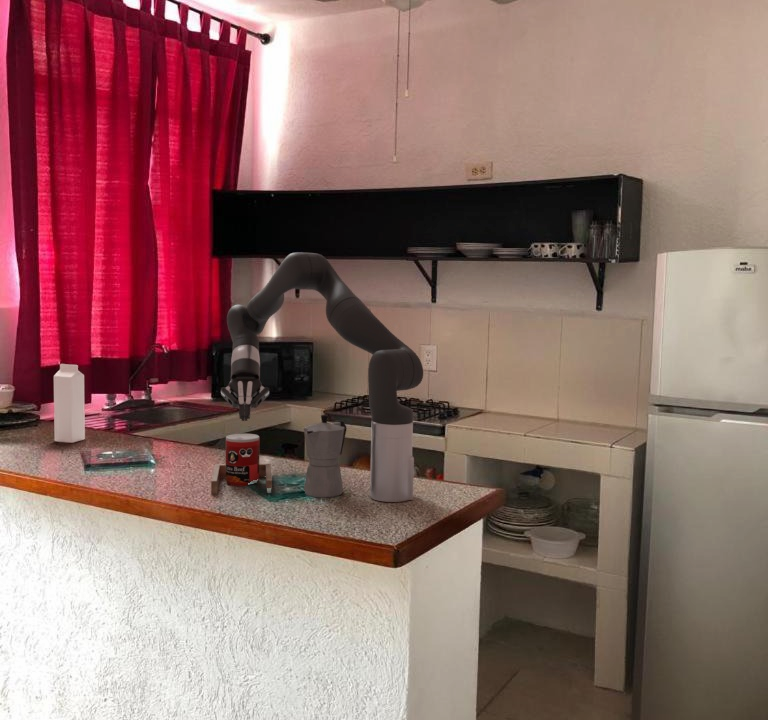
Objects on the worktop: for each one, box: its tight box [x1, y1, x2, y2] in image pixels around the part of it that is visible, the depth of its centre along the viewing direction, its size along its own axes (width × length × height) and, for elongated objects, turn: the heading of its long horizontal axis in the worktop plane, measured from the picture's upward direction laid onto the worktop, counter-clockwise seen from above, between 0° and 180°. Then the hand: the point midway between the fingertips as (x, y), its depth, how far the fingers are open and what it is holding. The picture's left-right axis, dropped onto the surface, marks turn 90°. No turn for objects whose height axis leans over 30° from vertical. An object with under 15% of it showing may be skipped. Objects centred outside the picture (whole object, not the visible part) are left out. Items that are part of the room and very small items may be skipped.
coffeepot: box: [303, 413, 347, 498], centre depth 197 cm, size 15×9×18 cm, turn 150°
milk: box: [53, 363, 86, 444], centre depth 249 cm, size 6×6×22 cm
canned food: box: [225, 433, 261, 487], centre depth 204 cm, size 8×8×11 cm
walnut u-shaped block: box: [210, 463, 273, 495], centre depth 202 cm, size 13×17×3 cm
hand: (244, 419), depth 219 cm, fingers closed
